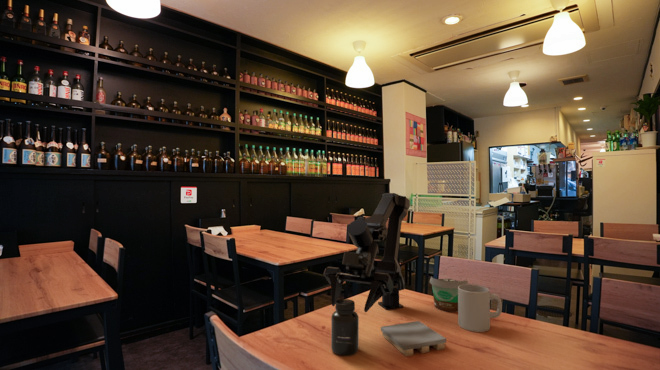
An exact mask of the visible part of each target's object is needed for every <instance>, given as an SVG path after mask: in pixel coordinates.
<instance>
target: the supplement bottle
mask: <svg viewBox="0 0 660 370" xmlns="http://www.w3.org/2000/svg"><path fill="white" fill-rule="evenodd" d="M355 306H356V305H355V301H354V300H352V299H348V298H340V299H338V300H337V301H336V304H335V306H334V309H335V311H333V313H332V314H331V330H330V332H331V336H330V337H331V340H330V342H331V345H330V346H331V347H330V348H331V350H332V352H333V353H334V354H336V355H338V356H344V357H348V356H353V355H355V354H357V353H358V351H359V339H360V338H359V333H360V332H359V329H360V327H359V325H360V324H359V323H360V321H359V319H360V318H359V315H358V313H357V311H355V310H356V307H355Z"/></svg>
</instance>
